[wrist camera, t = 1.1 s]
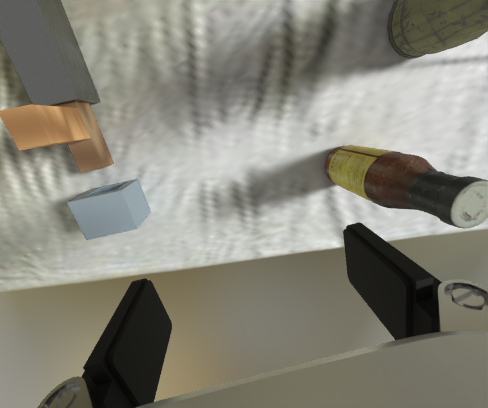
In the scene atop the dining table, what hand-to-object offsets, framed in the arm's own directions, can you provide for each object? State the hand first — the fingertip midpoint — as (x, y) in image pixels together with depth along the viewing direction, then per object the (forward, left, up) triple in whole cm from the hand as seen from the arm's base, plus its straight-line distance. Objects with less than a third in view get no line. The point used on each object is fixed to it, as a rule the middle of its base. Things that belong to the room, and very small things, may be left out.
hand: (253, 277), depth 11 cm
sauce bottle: (+3, +17, -26) cm, 31 cm away
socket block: (+1, -18, -26) cm, 31 cm away
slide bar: (-14, -18, -25) cm, 33 cm away
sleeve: (-18, -18, -26) cm, 36 cm away
